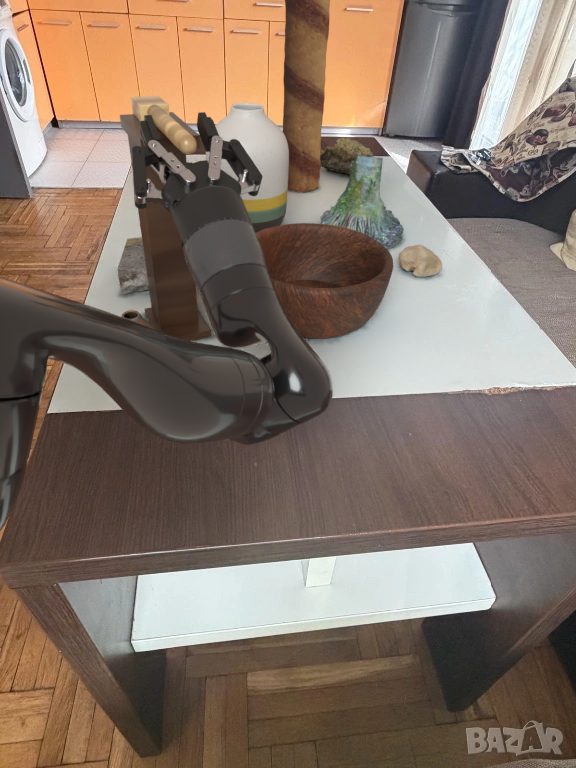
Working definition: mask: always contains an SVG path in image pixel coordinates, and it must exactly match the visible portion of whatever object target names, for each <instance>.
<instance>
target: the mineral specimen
mask: <svg viewBox="0 0 576 768" xmlns="http://www.w3.org/2000/svg"><path fill="white" fill-rule="evenodd" d="M335 142H336V143H335V144H333V146H328V145H327V146H326V147H325V149H324V150H323V149H322V148H321V153H320V163H321V168H322V169H325V170H327V171H328V172H330V171H331V170H332V171H333V172H337V173H339V174H347V175H349V176H350V174H351V170H352V167H353V163H354V159H355V156H365V157H375V156H374V153H373V152H371V148H369V147H366V146H365V145H363V144H362V143H360V142H358V141H357V139H353V138H351V137H341V138H338V139H337V140H335Z"/></svg>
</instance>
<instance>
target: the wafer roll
mask: <svg viewBox="0 0 576 768" xmlns="http://www.w3.org/2000/svg"><path fill="white" fill-rule="evenodd" d="M284 5H285V26H284V49H283V50H284V51H283V52H284V60H283V80H282V81H283V109H282V110H283V115H282V132H283V133H284V135H285V137H286V140H287V143H288V149H289V169H288V191H289V190H290V191H293V192H295V193H308V192H311V191H314V190H316V189H318V188H319V184H320V183H319V182H320V174H321V168H322V167H321V163H320V153H321V149H322V148H321V147H322V145H321V143H322V127H323V120H324V119H323V118H324V110H325V109H324V108H325V96H326V95H325V87H326V68H327V50H328V40H329V36H330V35H329V33H330V5H331V0H284Z"/></svg>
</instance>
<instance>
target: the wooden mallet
mask: <svg viewBox="0 0 576 768" xmlns="http://www.w3.org/2000/svg"><path fill="white" fill-rule="evenodd" d="M130 101H131V109H132V110H131V111H132V114H134V115H135V116H136V118H137V119H138V120H139V121H140V122H141V121H144V115H152V118H153V121H154V123H155V126H156V127H157V128H158V129H159V130H160V131H161V132H162V133H163V134H164V135H165V136H166V137H167V138H168V139H169V140H170V141H171V142H172V143H173V144H174V145H175V146H176V147H177V148H178V149H179V150H180V151H181V152H182V153H183V154H186V156H191V155H193V154H195V152H196V151H197V150H198V149H197V142H196V139H195V138H194V137H193V136H192V135H191V134H190V133H189V132H188V131H186V130H185V129H184V128H183V127H182V126H181V125H180V124H179V123H177V122H176V121H175V120H174V119H173V118H172V117H171V116H170V115H169V112H170V106H169V103H168V102H166V101H165V100H164V99H163V98H162V97H160V95H145V96H143V95H142V96H131V97H130Z"/></svg>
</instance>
